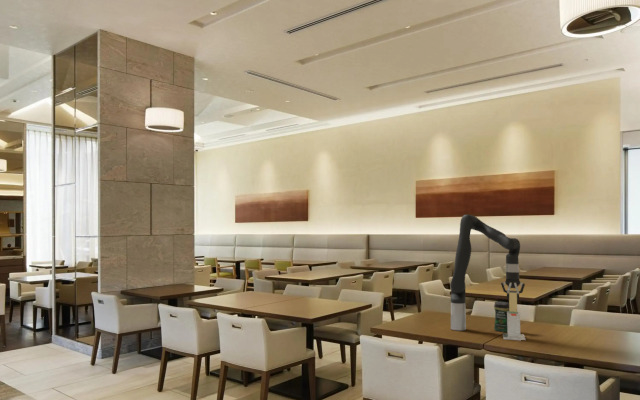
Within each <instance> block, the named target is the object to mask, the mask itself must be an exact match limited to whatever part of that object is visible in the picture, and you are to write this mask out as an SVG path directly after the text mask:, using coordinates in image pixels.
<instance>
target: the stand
mask: <svg viewBox="0 0 640 400" xmlns="http://www.w3.org/2000/svg"><path fill="white" fill-rule="evenodd" d="M502 337H503V340H510V341H521V340H525V341H526V336H525V334H523V333H522V334H521V313H520V311H517V313H510V312H509V311H507V332H502Z"/></svg>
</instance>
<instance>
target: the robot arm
mask: <svg viewBox="0 0 640 400" xmlns="http://www.w3.org/2000/svg"><path fill="white" fill-rule="evenodd" d="M471 230H474V231H477V232H479V233H481V234H483V235H484V236H486V237H487V238H488V239H490V240H491V241H493V242H495V243H497V244H499V245H500V246H501V247H502V248H504V249H505V250H508V253H507V254H506V256H505V281H504V282H503V281H502V282H500V285H501V288H502V290H503V292H504V293H505V294H506V299H507V300H508V301H509V291H511V289H515V291H517V301H519V300H520V294H523V292H524V289H525V286H526V283H524V282H521V281H520V265H519V255H520V250H521V243H520V240H518V238H514V237H513V238H512V237H509V236H506V234H505V233H503V232H502V231H500V230H498V229H496V228H494V227H492V226H489V225H488V224H486V223H485V222H484V221H482V220H480V218H478V217H477V216H476V215H472V214H464V215H462V216H461V219H460V223H459V235H458V236H459V237H458V242H457V247H456V253H455V260H454V269H453V275H452V277H451V280H450V284H449V285H450V286H449V287H450V330H454V331H466V330H467V324H466V322H467V317H466V316H467V315H466V311H467V310H466V299H467V298H466V297H467V295H466V274H467V270H468V267H469V264H470V261H471V257H472V256H471V255H472V244H471V238H470V236H471V232H472V231H471ZM505 286H507V289H506V288H505ZM519 286H520V290H519Z"/></svg>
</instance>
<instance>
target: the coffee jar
mask: <svg viewBox="0 0 640 400" xmlns="http://www.w3.org/2000/svg"><path fill="white" fill-rule="evenodd" d="M493 306H494V307H493V308H494V313H495V314H494V315H495V317H494V327H493V328H494V331H496V332H501V333H507V311H509V302H508V301H507V302H506V301H495V302H494V305H493Z"/></svg>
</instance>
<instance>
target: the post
mask: <svg viewBox="0 0 640 400" xmlns="http://www.w3.org/2000/svg"><path fill="white" fill-rule="evenodd" d="M508 301H509V302H508V303H509V312H510V313H517V312H518V300H517V291H516V290H510V291H509V300H508Z"/></svg>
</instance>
